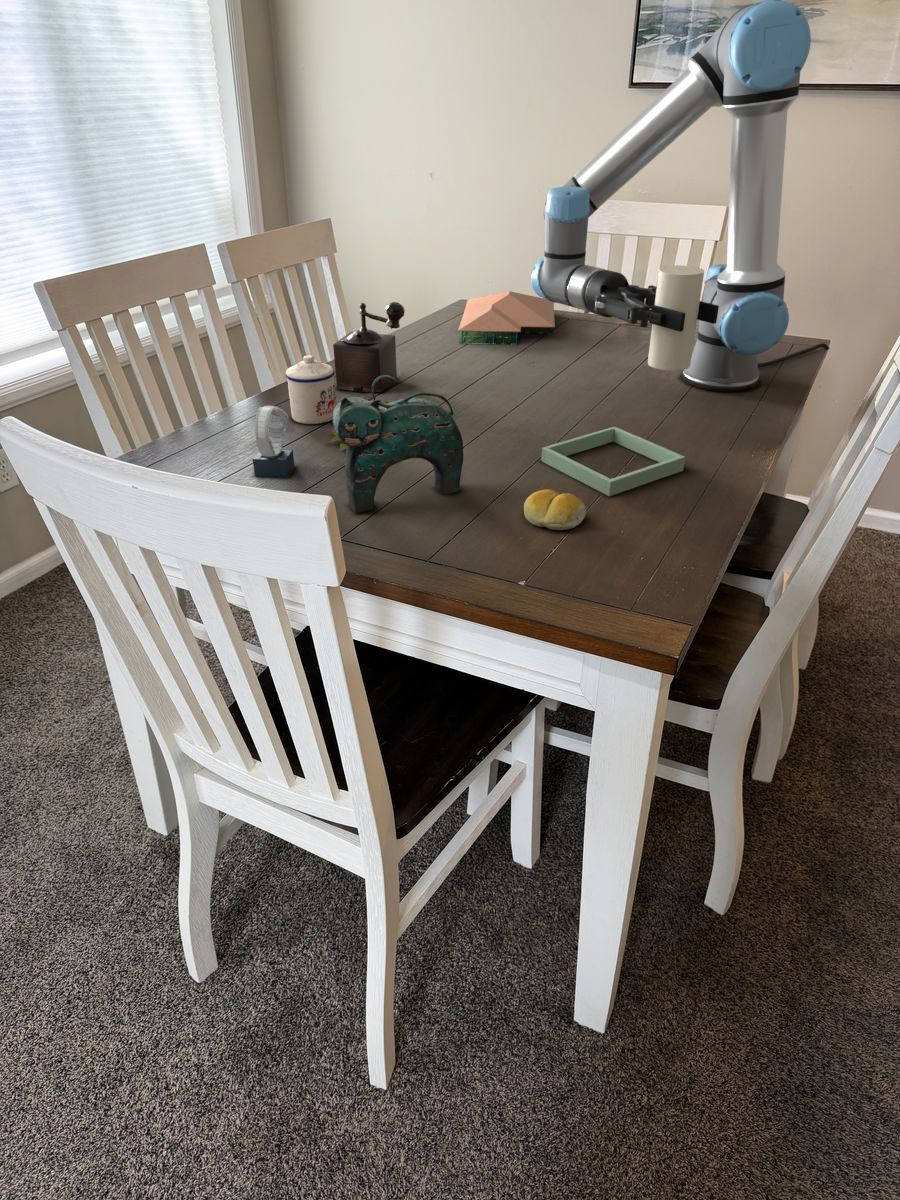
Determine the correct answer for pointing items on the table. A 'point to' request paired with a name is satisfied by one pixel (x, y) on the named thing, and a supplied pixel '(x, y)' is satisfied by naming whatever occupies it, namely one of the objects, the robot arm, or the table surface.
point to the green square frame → (665, 467)
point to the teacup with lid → (311, 391)
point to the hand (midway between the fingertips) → (699, 318)
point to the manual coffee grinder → (368, 354)
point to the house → (506, 314)
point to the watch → (272, 444)
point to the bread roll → (554, 510)
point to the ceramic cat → (396, 442)
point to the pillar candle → (683, 295)
